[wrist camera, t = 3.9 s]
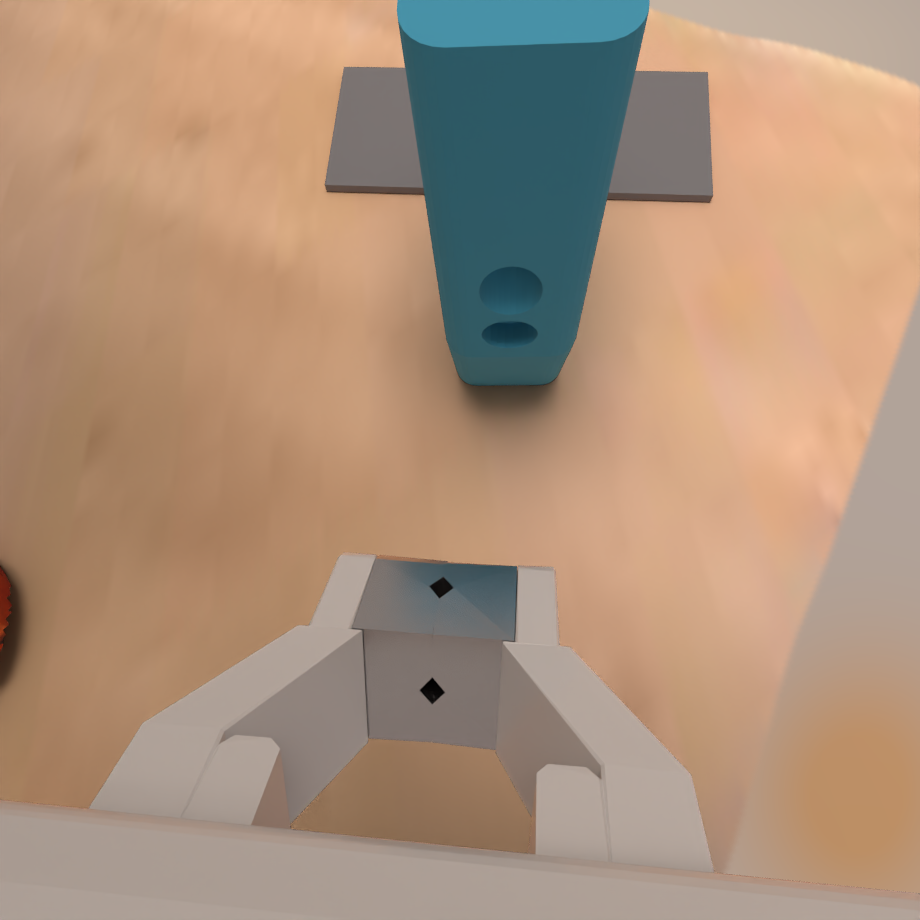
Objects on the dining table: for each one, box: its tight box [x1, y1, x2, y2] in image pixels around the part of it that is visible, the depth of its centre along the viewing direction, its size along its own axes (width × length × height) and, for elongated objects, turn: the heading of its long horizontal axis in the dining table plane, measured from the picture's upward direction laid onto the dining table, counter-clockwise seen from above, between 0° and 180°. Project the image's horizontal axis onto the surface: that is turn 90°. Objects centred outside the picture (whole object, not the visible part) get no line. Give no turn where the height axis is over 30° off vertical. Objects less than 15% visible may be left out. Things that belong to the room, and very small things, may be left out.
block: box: [397, 0, 649, 386], centre depth 25 cm, size 12×5×20 cm, turn 179°
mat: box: [325, 67, 713, 202], centre depth 37 cm, size 20×8×1 cm, turn 86°
